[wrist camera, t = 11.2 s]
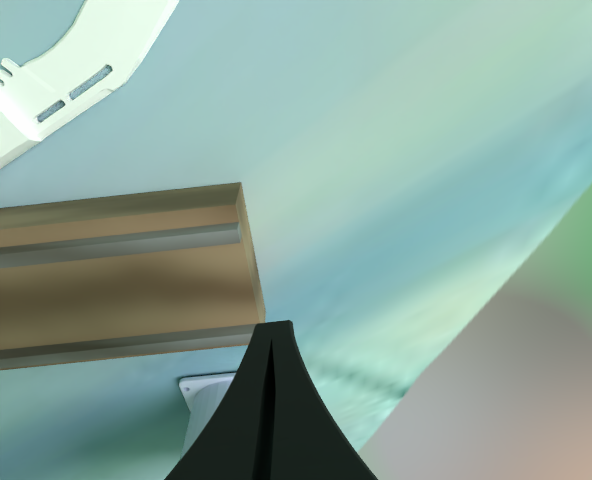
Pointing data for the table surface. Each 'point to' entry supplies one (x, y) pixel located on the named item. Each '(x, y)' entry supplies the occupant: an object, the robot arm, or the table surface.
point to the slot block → (127, 276)
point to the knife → (76, 69)
